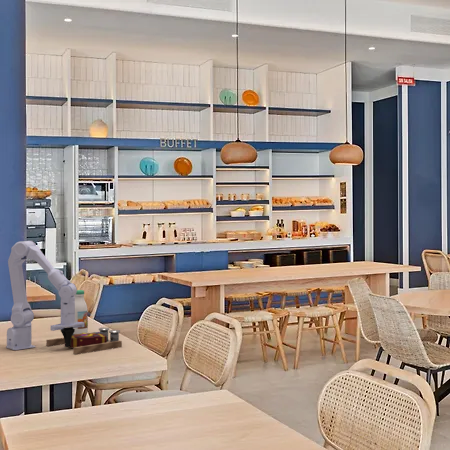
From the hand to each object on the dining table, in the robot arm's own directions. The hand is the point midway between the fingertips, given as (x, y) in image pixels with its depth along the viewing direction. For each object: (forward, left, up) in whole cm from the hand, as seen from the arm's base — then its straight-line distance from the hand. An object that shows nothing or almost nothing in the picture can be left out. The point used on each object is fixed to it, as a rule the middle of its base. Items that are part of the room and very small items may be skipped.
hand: (67, 346), depth 277 cm
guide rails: (+8, 0, -1) cm, 8 cm away
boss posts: (+20, 0, -1) cm, 20 cm away
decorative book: (+9, +1, -1) cm, 9 cm away
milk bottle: (+22, +27, -1) cm, 35 cm away
